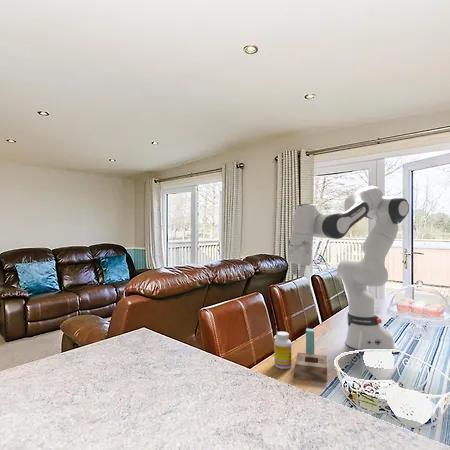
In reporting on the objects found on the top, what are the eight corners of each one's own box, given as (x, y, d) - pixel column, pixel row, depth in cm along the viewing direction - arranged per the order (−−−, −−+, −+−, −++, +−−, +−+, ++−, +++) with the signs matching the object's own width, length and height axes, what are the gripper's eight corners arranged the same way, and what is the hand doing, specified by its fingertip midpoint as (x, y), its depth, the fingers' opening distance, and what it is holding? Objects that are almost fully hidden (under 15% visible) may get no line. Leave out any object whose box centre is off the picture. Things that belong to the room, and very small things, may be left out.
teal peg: (314, 357, 132) (314, 329, 132) (314, 360, 129) (313, 331, 129) (306, 356, 133) (306, 328, 133) (306, 359, 130) (305, 330, 130)
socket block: (326, 368, 122) (326, 355, 122) (327, 382, 111) (326, 367, 111) (297, 365, 125) (297, 352, 125) (295, 377, 115) (295, 363, 115)
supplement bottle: (291, 370, 120) (291, 336, 120) (274, 369, 122) (273, 335, 122) (291, 363, 127) (291, 331, 127) (274, 361, 128) (274, 330, 128)
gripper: (317, 242, 120) (312, 279, 119) (301, 243, 140) (297, 274, 139) (301, 240, 119) (296, 276, 118) (287, 241, 140) (283, 272, 139)
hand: (296, 275), depth 129 cm, fingers open, 8 cm apart
